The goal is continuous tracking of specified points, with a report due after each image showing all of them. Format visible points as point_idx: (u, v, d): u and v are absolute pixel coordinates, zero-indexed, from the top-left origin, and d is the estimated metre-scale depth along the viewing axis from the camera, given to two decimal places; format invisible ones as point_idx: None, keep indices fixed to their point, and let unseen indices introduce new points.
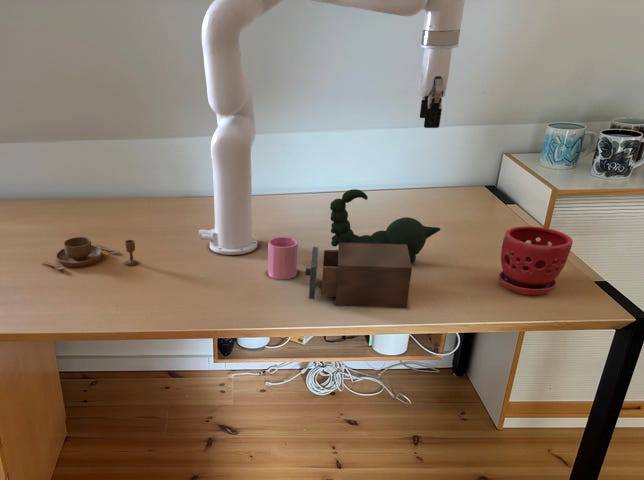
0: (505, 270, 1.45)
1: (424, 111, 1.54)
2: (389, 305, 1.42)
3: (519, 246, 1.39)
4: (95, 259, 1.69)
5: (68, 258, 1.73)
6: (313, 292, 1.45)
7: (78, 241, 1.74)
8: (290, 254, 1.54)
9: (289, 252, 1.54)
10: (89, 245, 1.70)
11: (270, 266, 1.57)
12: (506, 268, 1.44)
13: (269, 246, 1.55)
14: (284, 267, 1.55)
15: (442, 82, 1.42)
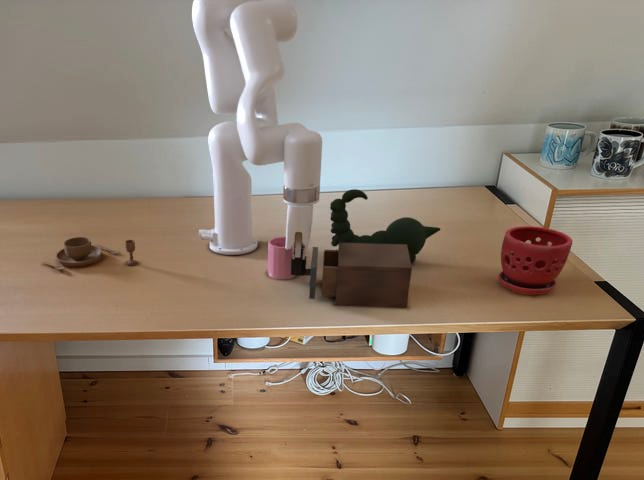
0: (505, 270, 1.45)
1: None
2: (389, 305, 1.42)
3: (519, 246, 1.39)
4: (95, 259, 1.69)
5: (68, 258, 1.73)
6: (313, 292, 1.45)
7: (78, 241, 1.74)
8: (290, 254, 1.54)
9: (289, 252, 1.54)
10: (89, 245, 1.70)
11: (270, 266, 1.57)
12: (506, 268, 1.44)
13: (269, 246, 1.55)
14: (284, 267, 1.55)
15: (303, 237, 1.39)
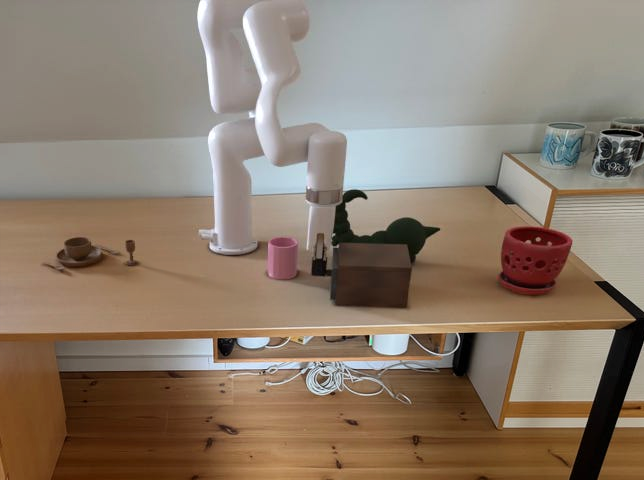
0: (505, 270, 1.45)
1: None
2: (389, 305, 1.42)
3: (519, 246, 1.39)
4: (95, 259, 1.69)
5: (68, 258, 1.73)
6: (334, 293, 1.44)
7: (78, 241, 1.74)
8: (290, 254, 1.54)
9: (289, 252, 1.54)
10: (89, 245, 1.70)
11: (270, 266, 1.57)
12: (506, 268, 1.44)
13: (269, 246, 1.55)
14: (284, 267, 1.55)
15: (325, 239, 1.38)
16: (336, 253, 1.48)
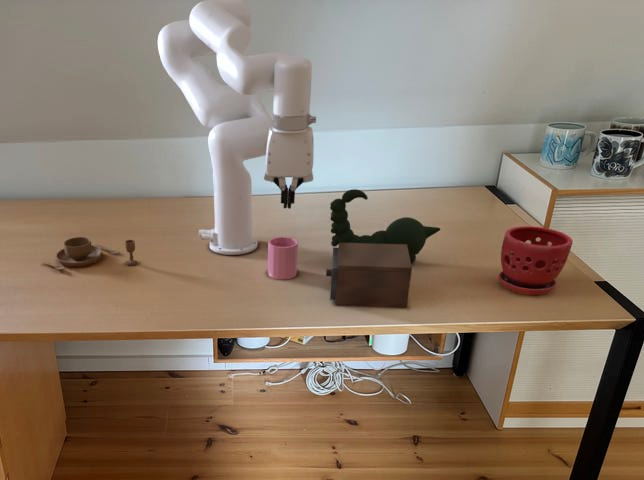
0: (505, 270, 1.45)
1: (288, 198, 1.50)
2: (389, 305, 1.42)
3: (519, 246, 1.39)
4: (95, 259, 1.69)
5: (68, 258, 1.73)
6: (334, 293, 1.44)
7: (78, 241, 1.74)
8: (290, 254, 1.54)
9: (289, 252, 1.54)
10: (89, 245, 1.70)
11: (270, 266, 1.57)
12: (506, 268, 1.44)
13: (269, 246, 1.55)
14: (284, 267, 1.55)
15: None
16: (336, 253, 1.48)
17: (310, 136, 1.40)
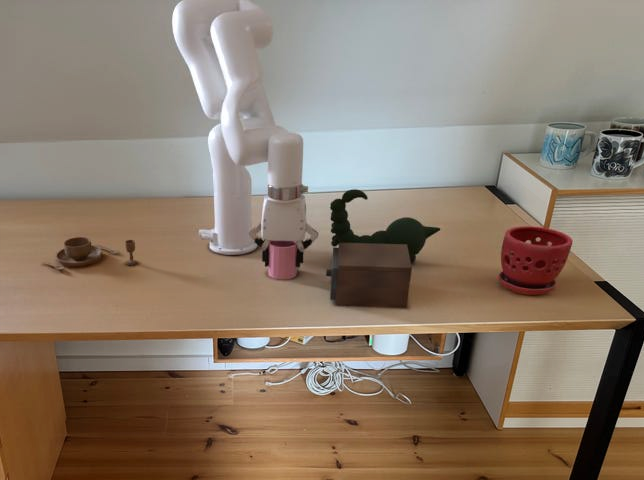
0: (505, 270, 1.45)
1: None
2: (389, 305, 1.42)
3: (519, 246, 1.39)
4: (95, 259, 1.69)
5: (68, 258, 1.73)
6: (334, 293, 1.44)
7: (78, 241, 1.74)
8: (290, 254, 1.54)
9: (289, 252, 1.54)
10: (89, 245, 1.70)
11: (270, 266, 1.57)
12: (506, 268, 1.44)
13: (269, 246, 1.55)
14: (284, 267, 1.55)
15: (261, 225, 1.53)
16: (336, 253, 1.48)
17: (303, 204, 1.48)
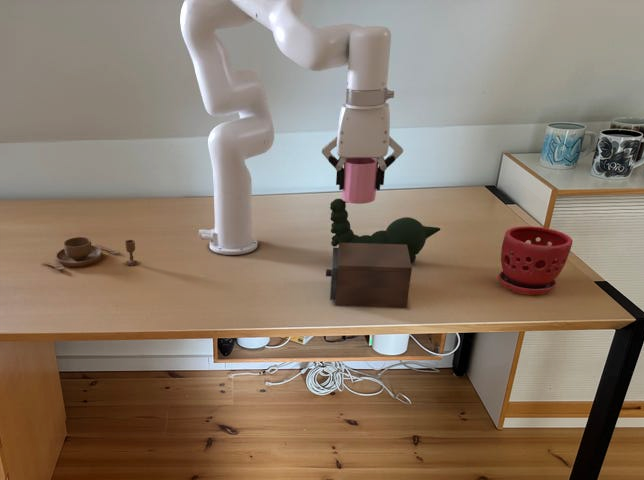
0: (505, 270, 1.45)
1: None
2: (389, 305, 1.42)
3: (519, 246, 1.39)
4: (95, 259, 1.69)
5: (68, 258, 1.73)
6: (334, 293, 1.44)
7: (78, 241, 1.74)
8: (370, 173, 1.34)
9: (370, 171, 1.34)
10: (89, 245, 1.70)
11: (346, 189, 1.38)
12: (506, 268, 1.44)
13: (345, 165, 1.36)
14: (363, 189, 1.36)
15: (337, 140, 1.34)
16: (336, 253, 1.48)
17: (387, 112, 1.29)
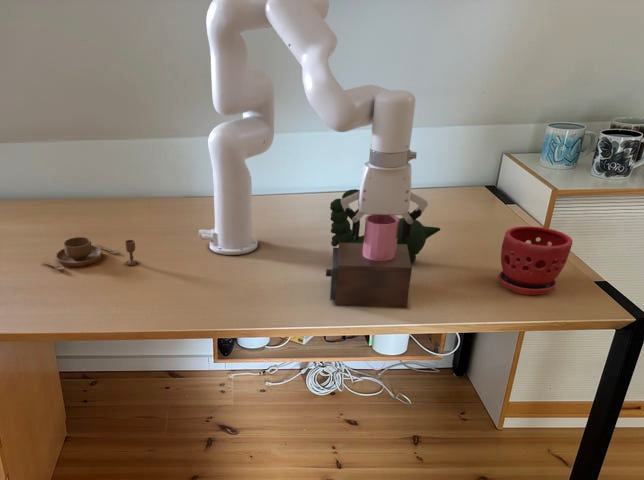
0: (505, 270, 1.45)
1: (402, 231, 1.41)
2: (389, 305, 1.42)
3: (519, 246, 1.39)
4: (95, 259, 1.69)
5: (68, 258, 1.73)
6: (334, 293, 1.44)
7: (78, 241, 1.74)
8: (391, 232, 1.38)
9: (391, 230, 1.37)
10: (89, 245, 1.70)
11: (367, 246, 1.41)
12: (506, 268, 1.44)
13: (367, 223, 1.39)
14: (384, 247, 1.39)
15: (359, 197, 1.37)
16: (336, 253, 1.48)
17: (410, 173, 1.32)
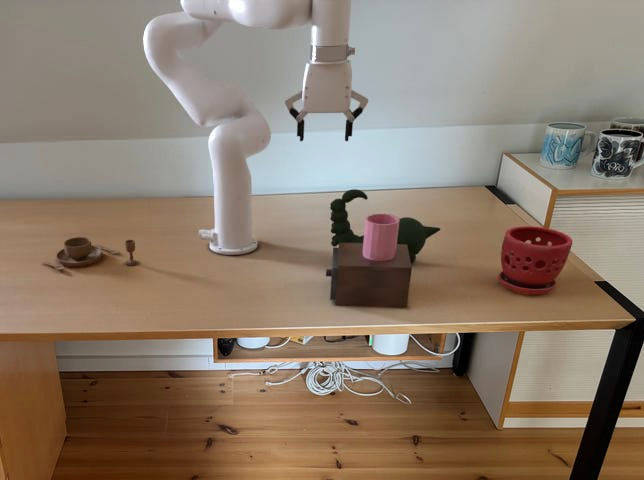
0: (505, 270, 1.45)
1: (345, 131, 1.45)
2: (389, 305, 1.42)
3: (519, 246, 1.39)
4: (95, 259, 1.69)
5: (68, 258, 1.73)
6: (334, 293, 1.44)
7: (78, 241, 1.74)
8: (391, 232, 1.38)
9: (391, 230, 1.37)
10: (89, 245, 1.70)
11: (367, 246, 1.41)
12: (506, 268, 1.44)
13: (367, 223, 1.39)
14: (384, 247, 1.39)
15: (302, 95, 1.41)
16: (336, 253, 1.48)
17: (349, 68, 1.36)
